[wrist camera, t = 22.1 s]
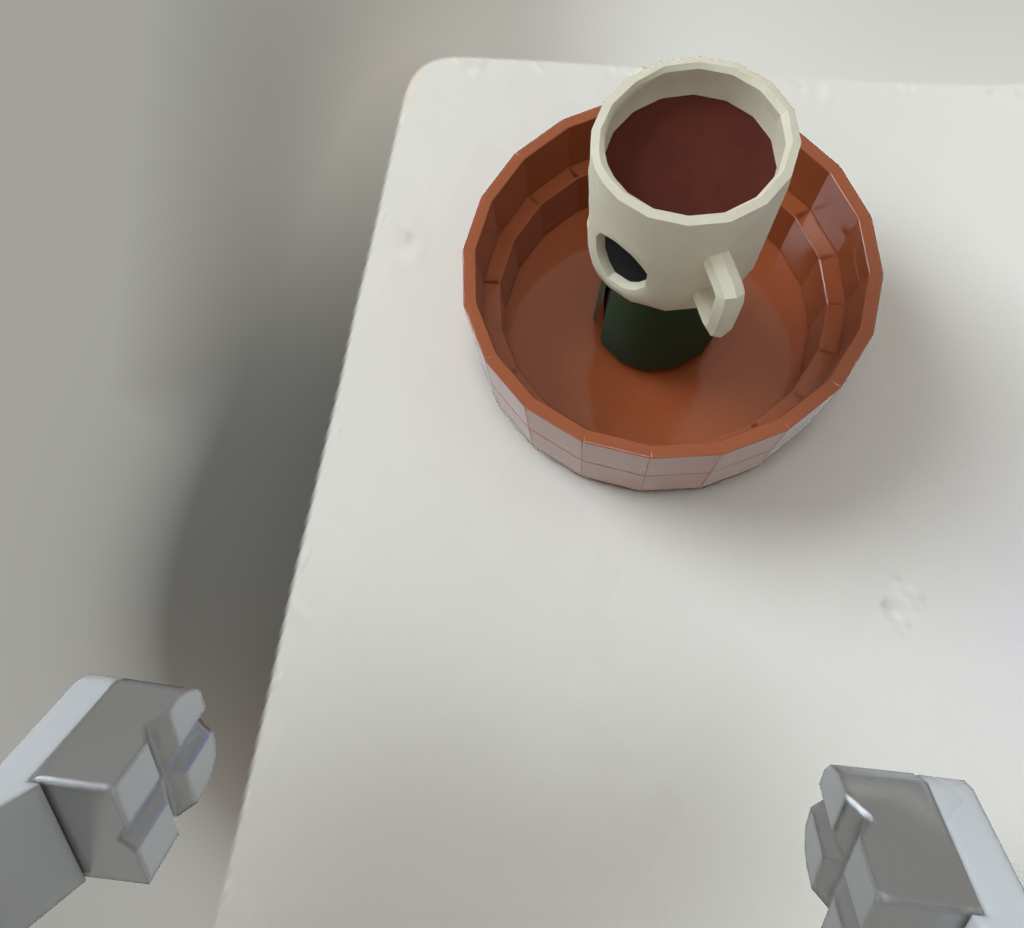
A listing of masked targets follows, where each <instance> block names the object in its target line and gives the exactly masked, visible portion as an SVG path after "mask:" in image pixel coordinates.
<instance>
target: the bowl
mask: <svg viewBox="0 0 1024 928" xmlns="http://www.w3.org/2000/svg"><path fill="white" fill-rule="evenodd" d="M601 107H602V106H599V107H596V108H593V109H591V110H588V111H585V112H582V113H580V114H577V115H574V116H571V117H569V118H566V119H563V121H560V122H559V123H557V124H556V125H554V126H553V127H552V128H550V129H549V130H547V131H546V132H545V133H543V134H542V135H540V136H539V137H538V138H536V139H535V140H533V141H532V142H531V143H529V144H528V145H526V146H525V147H523V148H522V149H521V150H519V151H518V152H517V153H516V154H514V155H513V157H512V158H511V159H510V161H509V162H508V163H507V164H506V166H505V167H504V168H503V170H502V171H501V172H500V174H499V175H498V176H497V177H496V179H495V180H494V181H493V183H492V184H491V185H490V186H489V188H488V189H487V190H486V192H485V193H484V194H483V196H482V197H481V199H480V202H479V205H478V208H477V211H476V214H475V217H474V220H473V222H472V225H471V228H470V231H469V234H468V237H467V240H466V243H465V245H464V248H463V305H464V309H465V312H466V315H467V318H468V322H469V325H470V328H471V331H472V334H473V337H474V340H475V344H476V347H477V350H478V353H479V356H480V359H481V362H482V364H483V367H484V370H485V372H486V375H487V378H488V380H489V383H490V385H491V388H492V391H493V393H494V396H495V399H496V401H497V403H498V405H499V406H500V407H501V409H502V410H503V411H504V412H505V413H506V415H507V416H508V417H509V418H510V419H511V421H512V422H513V423H514V424H515V425H516V427H517V428H518V429H519V430H520V431H521V432H522V434H523V435H524V436H525V437H526V438H527V440H528V441H529V442H530V443H531V444H532V445H533V446H534V447H535V448H537V449H539V450H540V451H542V452H544V453H545V454H547V455H548V456H550V457H552V458H553V459H555V460H557V461H558V462H560V463H561V464H563V465H565V466H566V467H568V468H569V469H571V470H573V471H574V472H576V473H578V474H579V475H582V476H584V477H588V478H591V479H595V480H599V481H603V482H607V483H611V484H615V485H619V486H623V487H627V488H631V489H635V490H641V491H643V490H662V489H682V488H699V487H704V486H706V485H709V484H712V483H715V482H717V481H720V480H723V479H725V478H728V477H731V476H733V475H736V474H739V473H741V472H744V471H747V470H749V469H752V468H755V467H756V466H758V465H759V464H761V463H762V462H763V461H764V460H766V459H767V458H768V457H769V456H771V455H772V454H773V453H774V452H776V451H777V450H778V449H779V448H780V447H782V446H783V445H784V444H785V443H787V442H788V441H789V440H790V439H792V438H793V437H794V436H795V435H797V434H798V433H799V432H800V431H801V430H802V429H803V428H804V427H805V426H806V425H807V424H808V423H809V422H810V421H811V420H812V418H813V417H814V416H815V415H816V414H817V413H818V412H819V411H820V410H821V409H822V408H823V407H824V405H825V404H826V403H827V402H828V401H829V400H830V399H831V398H832V397H833V396H834V395H835V394H836V393H837V391H838V390H839V389H840V388H841V387H842V385H843V384H844V382H845V380H846V379H847V377H848V375H849V374H850V372H851V370H852V369H853V367H854V365H855V364H856V362H857V360H858V359H859V357H860V356H861V354H862V352H863V351H864V349H865V347H866V346H867V344H868V342H869V341H870V339H871V337H872V336H873V333H874V327H875V322H876V316H877V310H878V304H879V298H880V292H881V286H882V281H883V270H882V266H881V261H880V256H879V251H878V246H877V241H876V237H875V232H874V227H873V222H872V218H871V215H870V214H869V212H868V211H867V209H866V207H865V206H864V204H863V202H862V201H861V199H860V198H859V196H858V194H857V193H856V191H855V190H854V188H853V186H852V185H851V183H850V182H849V180H848V178H847V177H846V175H845V173H844V172H843V170H842V169H841V168H840V166H839V165H838V164H837V163H835V162H834V161H833V160H832V159H831V158H829V157H828V156H827V155H826V154H825V153H823V152H822V151H821V150H820V149H819V148H818V147H816V146H815V145H814V144H813V143H812V142H810V141H809V140H808V139H807V138H806V137H804V136H803V135H802V134H801V133H800V132H799V134H800V138H801V146H800V149H799V152H798V156H797V159H796V163H795V166H794V170H793V173H792V177H791V180H790V184H789V187H788V190H787V192H786V194H785V196H784V199H783V201H782V203H781V206H780V208H779V210H778V213H777V215H776V217H775V219H774V222H773V224H772V226H771V229H770V231H769V233H768V236H767V238H766V240H765V242H764V245H763V247H762V249H761V252H760V254H759V256H758V258H757V261H756V263H755V265H754V267H753V269H752V270H751V271H750V272H749V273H748V274H747V275H746V277H745V278H744V279H743V280H742V282H743V286H744V289H745V297H744V303H743V306H742V308H741V310H740V312H739V315H738V317H737V319H736V321H735V323H734V326H733V328H732V329H731V330H730V331H729V332H728V333H726V334H725V335H724V336H722V337H721V338H719V337H713V339H712V340H711V341H710V343H709V344H708V345H707V347H706V348H705V349H704V351H703V352H702V353H701V354H700V355H698V356H696V357H694V358H692V359H690V360H688V361H687V362H685V363H683V364H681V365H679V366H677V367H671V368H664V369H657V370H650V371H646V370H643V369H641V368H638V367H635V366H632V365H629V364H626V363H623V362H621V361H619V360H618V359H617V358H616V357H615V356H614V355H613V354H612V353H611V352H610V351H609V350H607V349H606V348H605V347H604V346H603V345H602V342H601V339H600V337H601V332H602V326H603V321H604V294H603V296H602V299H601V302H600V305H599V309H598V314H597V318H596V322H594V319H593V316H594V311H595V306H596V302H597V297H598V292H599V287H600V283H601V278H600V277H599V276H598V274H597V272H596V270H595V268H594V266H593V264H592V260H591V257H590V252H589V248H588V230H587V220H588V217H589V179H588V168H589V163H590V143H591V130H592V128H593V125H594V123H595V121H596V118H597V116H598V114H599V112H600V109H601ZM604 293H605V291H604Z"/></svg>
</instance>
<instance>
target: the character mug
mask: <svg viewBox="0 0 1024 928" xmlns="http://www.w3.org/2000/svg"><path fill="white" fill-rule="evenodd" d="M800 146H801V138H800V134H799V129H798V124H797V120H796V115H795V110H794V108H793V107H792V106H791V105H790V103H789V102H788V101H787V100H786V98H785V97H784V96H783V95H782V94H781V92H780V91H779V90H778V89H777V87H776V86H775V85H774V84H773V82H772V81H770V80H768V79H766V78H764V77H762V76H761V75H759V74H757V73H755V72H753V71H752V70H750V69H748V68H746V67H744V66H743V65H741V64H739V63H734V62H728V61H723V60H718V59H712V58H707V57H701V56H698V57H690V58H682V59H674V60H666V61H661V62H659V63H657V64H655V65H653V66H650V67H648V68H646V67H643V66H641V67H640V68H639V69H638V70H637V71H636V72H635V73H634V74H633V75H632V76H630V77H628V78H627V79H626V80H625V81H624V82H623V83H622V84H621V85H620V86H619V87H618V88H617V89H616V90H615V91H614V92H613V93H612V94H611V95H610V96H609V97H608V98H607V99H606V100H605V101H604V102H603V105H602V107H601V109H600V112H599V114H598V116H597V118H596V121H595V123H594V125H593V128H592V130H591V143H590V163H589V168H588V179H589V217H588V220H587V230H588V248H589V252H590V257H591V260H592V264H593V266H594V268H595V270H596V272H597V274H598V276H599V277H600V278H601V283H600V287H599V292H598V297H597V302H596V306H595V311H594V316H593V319H594V322H596V318H597V314H598V309H599V305H600V302H601V299H602V296H603V294H604V321H603V326H602V332H601V337H600V339H601V342H602V345H603V346H604V347H605V348H606V349H607V350H609V351H610V352H611V353H612V354H613V355H614V356H615V357H616V358H617V359H618V360H619V361H621V362H623V363H626V364H629V365H632V366H635V367H638V368H641V369H643V370H646V371H650V370H657V369H664V368H671V367H677V366H679V365H681V364H683V363H685V362H687V361H688V360H690V359H692V358H694V357H696V356H698V355H700V354H701V353H702V352H703V351H704V349H705V348H706V347H707V345H708V344H709V343H710V341H711V340H712V339H713V337H719V338H721V337H722V336H724V335H725V334H726V333H728V332H729V331H730V330H731V329H732V328H733V326H734V323H735V321H736V319H737V317H738V315H739V312H740V310H741V308H742V306H743V303H744V297H745V289H744V286H743V282H742V280H743V279H744V278H745V277H746V275H747V274H748V273H749V272H750V271H751V270H752V269H753V267H754V265H755V263H756V261H757V258H758V256H759V254H760V252H761V249H762V247H763V245H764V242H765V240H766V238H767V236H768V233H769V231H770V229H771V226H772V224H773V222H774V219H775V217H776V215H777V213H778V210H779V208H780V206H781V203H782V201H783V199H784V196H785V194H786V192H787V190H788V187H789V184H790V180H791V177H792V173H793V170H794V166H795V163H796V159H797V156H798V152H799V149H800ZM604 291H605V293H604Z"/></svg>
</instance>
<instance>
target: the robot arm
mask: <svg viewBox="0 0 1024 928" xmlns="http://www.w3.org/2000/svg"><path fill="white" fill-rule="evenodd" d="M205 708H206V707H205V704H204V701H203V698H202V695H201V692H200V690H196V689H191V688H184V687H177V686H171V685H164V684H158V683H151V682H144V681H138V680H131V679H124V678H115V677H109V676H100V675H94V674H89V675H87V676H85V677H83V678H82V679H80V680H78V681H76V682H75V683H74V684H73V685H72V686H71V687H70V689H69V690H68V691H67V692H66V693H65V694H64V695H63V696H62V697H61V698H60V699H59V701H58V702H57V703H56V704H55V705H54V706H53V707H52V708H51V710H49V711H48V713H47V714H46V715H45V716H44V717H43V718H42V719H41V720H40V721H39V723H38V724H37V725H36V726H35V727H34V728H33V729H32V730H31V731H30V732H29V733H28V734H27V736H26V737H25V738H24V739H23V740H22V741H21V742H20V743H19V744H18V746H17V747H16V748H15V749H14V750H13V751H12V752H11V753H10V754H9V755H8V756H7V758H6V759H5V760H4V761H3V762H2V763H1V764H0V928H28V927H30V926H31V925H32V924H33V923H34V922H36V921H37V920H38V919H39V918H41V917H42V916H43V915H44V914H45V913H47V912H48V911H49V910H50V909H51V908H53V907H54V906H55V905H57V904H58V903H59V902H60V901H61V900H63V899H64V898H65V897H66V896H68V895H69V894H70V893H71V892H72V891H73V890H75V889H76V888H77V887H79V886H80V885H81V884H82V883H84V882H85V880H86V879H85V877H84V876H87V877H95V878H103V879H112V880H119V881H128V882H135V883H144V884H150V882H151V880H152V878H153V877H154V875H155V873H156V872H157V870H158V868H159V867H160V865H161V863H162V862H163V860H164V858H165V857H166V855H167V853H168V851H169V850H170V848H171V847H172V845H173V843H174V841H175V840H176V838H177V836H178V835H179V831H178V822H177V816H179V815H180V814H182V813H183V812H184V811H186V810H187V809H189V808H190V807H192V806H193V805H194V804H196V803H197V802H198V800H199V798H200V797H201V795H202V793H203V791H204V790H205V788H206V786H207V784H208V782H209V779H210V776H211V773H212V769H213V766H214V762H215V752H216V747H215V746H216V743H215V740H214V735H213V731H212V730H211V729H210V728H209V727H208V726H207V725H206V724H205V723H204V722H203V721H202V720H201V719H199V717H200V716H201V714H202V713H203V711H204V710H205ZM819 785H820V789H821V792H822V796H823V800H822V801H820V802H819V803H817V804H815V805H814V806H812V807H811V809H810V812H809V815H808V819H807V822H806V828H805V855H806V864H807V870H808V874H809V879H810V883H811V888H812V890H813V891H814V892H815V893H816V894H817V896H818V897H819V898H820V899H821V900H822V901H823V903H824V904H825V905H826V906H827V907H828V908H829V909H828V912H827V914H826V917H825V919H824V922H823V924H822V927H821V928H1024V888H1023V886H1022V884H1021V882H1020V880H1019V878H1018V877H1017V875H1016V873H1015V871H1014V869H1013V867H1012V865H1011V863H1010V861H1009V859H1008V857H1007V855H1006V853H1005V851H1004V849H1003V847H1002V845H1001V843H1000V841H999V839H998V837H997V835H996V833H995V831H994V829H993V827H992V825H991V823H990V821H989V819H988V817H987V815H986V814H985V812H984V810H983V808H982V806H981V804H980V802H979V800H978V798H977V796H976V794H975V792H974V790H973V789H972V788H971V787H970V786H969V785H968V784H967V783H966V782H965V781H964V780H957V779H948V778H940V777H932V776H924V775H915V774H913V773H905V772H896V771H887V770H877V769H868V768H859V767H849V766H840V765H830V766H828V767H827V768H826V769H825V770H824V772H823V775H822V777H821V780H820V783H819Z"/></svg>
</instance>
